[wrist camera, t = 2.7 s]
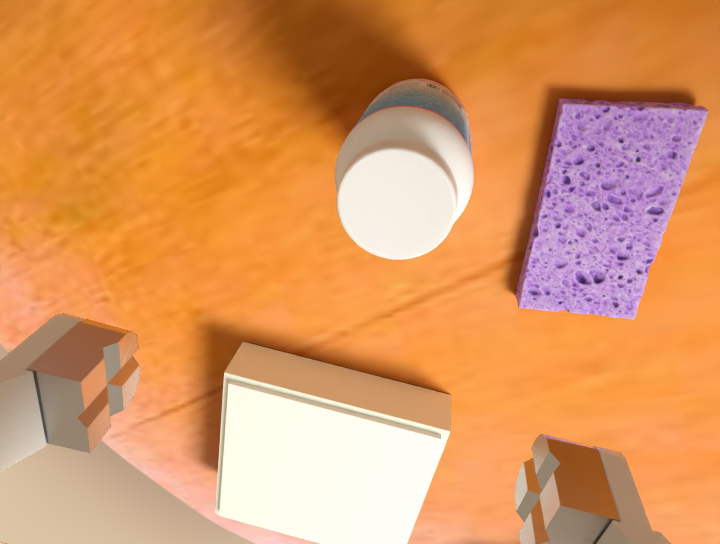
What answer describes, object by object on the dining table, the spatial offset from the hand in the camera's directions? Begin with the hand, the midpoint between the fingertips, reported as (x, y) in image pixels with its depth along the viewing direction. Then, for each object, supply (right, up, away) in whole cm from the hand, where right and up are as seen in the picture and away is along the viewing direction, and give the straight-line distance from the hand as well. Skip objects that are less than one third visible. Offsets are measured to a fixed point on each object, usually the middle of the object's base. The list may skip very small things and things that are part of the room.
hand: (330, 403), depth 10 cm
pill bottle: (+4, +11, +19) cm, 22 cm away
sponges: (+14, +6, +20) cm, 26 cm away
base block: (-2, -11, +32) cm, 34 cm away
